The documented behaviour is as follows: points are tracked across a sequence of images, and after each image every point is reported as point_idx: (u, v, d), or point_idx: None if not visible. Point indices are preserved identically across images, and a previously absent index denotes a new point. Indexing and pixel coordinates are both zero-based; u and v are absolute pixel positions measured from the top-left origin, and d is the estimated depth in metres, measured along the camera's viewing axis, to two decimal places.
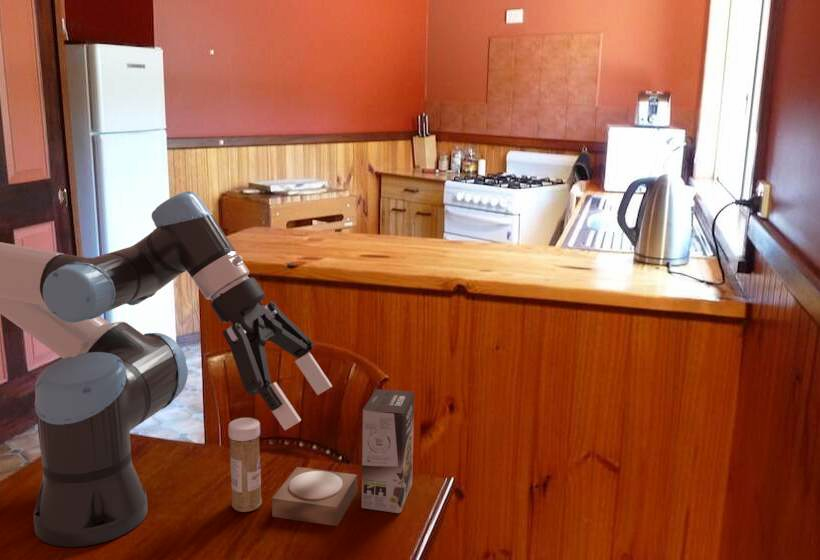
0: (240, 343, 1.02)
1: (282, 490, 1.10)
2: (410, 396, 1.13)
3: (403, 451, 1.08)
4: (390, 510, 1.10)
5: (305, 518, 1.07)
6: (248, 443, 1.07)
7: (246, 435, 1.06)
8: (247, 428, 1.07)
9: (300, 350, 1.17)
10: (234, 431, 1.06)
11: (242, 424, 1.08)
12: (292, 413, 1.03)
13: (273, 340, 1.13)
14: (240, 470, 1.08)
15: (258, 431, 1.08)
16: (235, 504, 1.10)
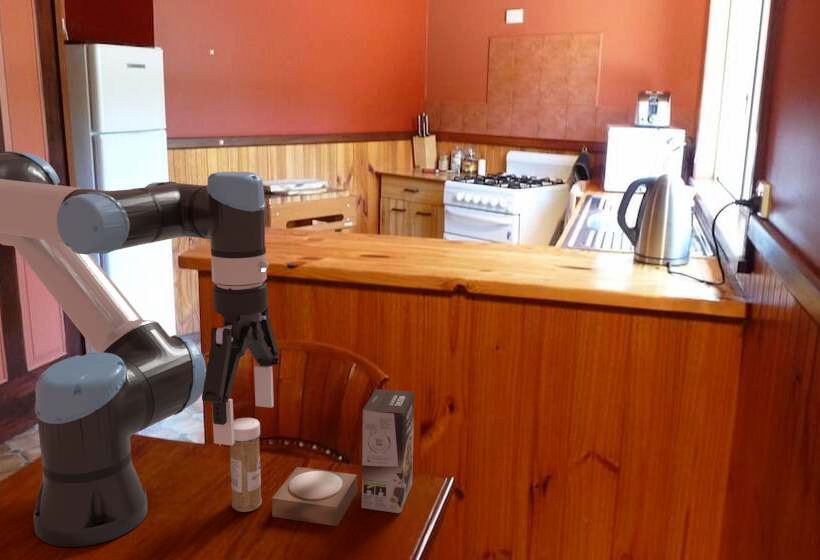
0: (222, 350, 0.98)
1: (282, 490, 1.10)
2: (410, 396, 1.13)
3: (403, 451, 1.08)
4: (390, 510, 1.10)
5: (305, 518, 1.07)
6: (248, 443, 1.07)
7: (246, 435, 1.06)
8: (247, 428, 1.07)
9: (264, 359, 1.13)
10: (234, 431, 1.06)
11: (242, 424, 1.08)
12: (230, 435, 1.01)
13: None
14: (240, 470, 1.08)
15: (258, 431, 1.08)
16: (235, 504, 1.10)
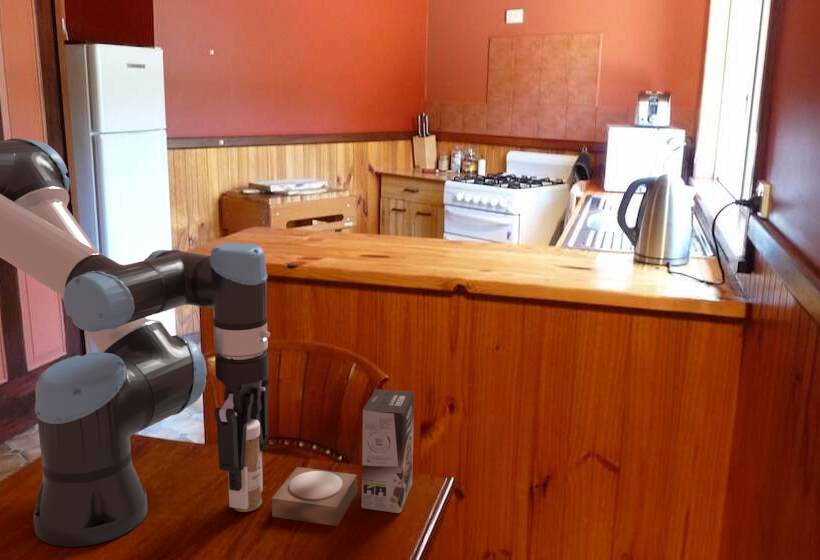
0: (228, 428, 1.02)
1: (282, 490, 1.10)
2: (410, 396, 1.13)
3: (403, 451, 1.08)
4: (390, 510, 1.10)
5: (305, 518, 1.07)
6: (248, 443, 1.07)
7: (246, 434, 1.06)
8: (247, 427, 1.07)
9: None
10: None
11: None
12: (244, 500, 1.08)
13: None
14: None
15: (258, 431, 1.08)
16: None
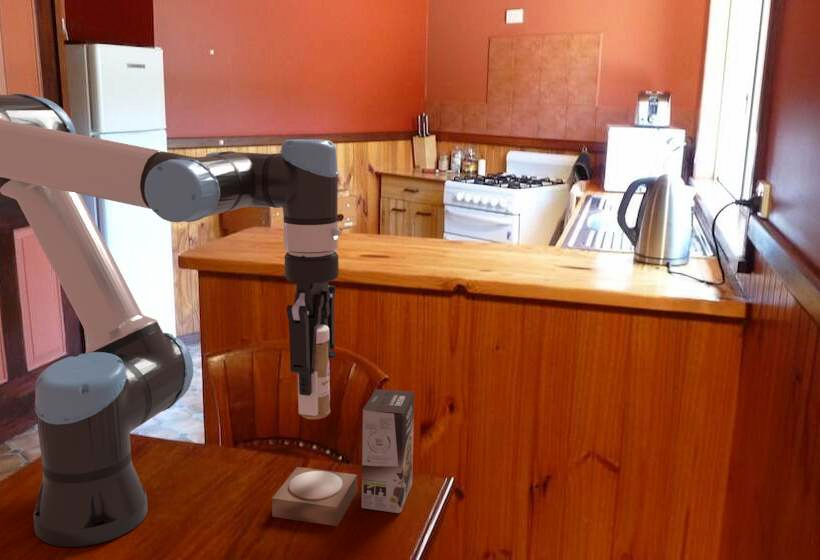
0: (301, 327, 0.99)
1: (282, 490, 1.10)
2: (410, 396, 1.13)
3: (403, 451, 1.08)
4: (390, 510, 1.10)
5: (305, 518, 1.07)
6: (319, 346, 1.04)
7: (316, 337, 1.04)
8: (317, 330, 1.04)
9: None
10: None
11: None
12: (314, 406, 1.05)
13: None
14: None
15: (328, 335, 1.05)
16: None
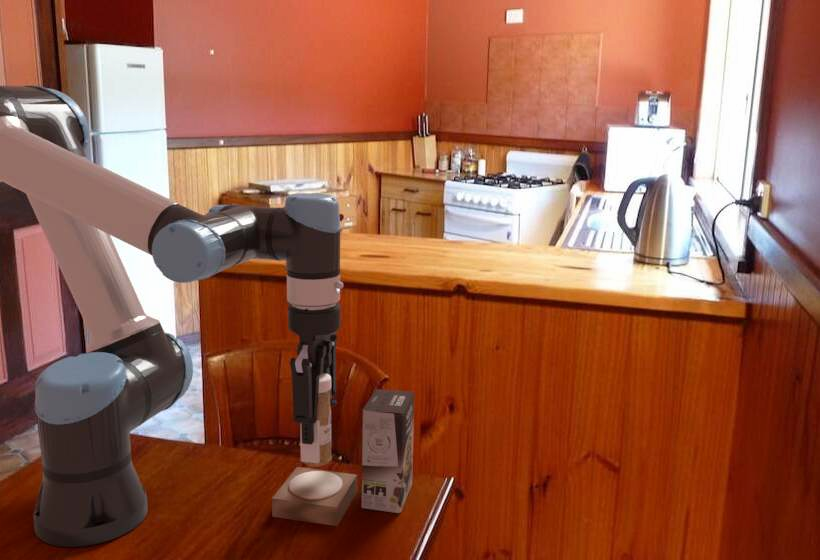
0: (304, 379, 1.01)
1: (282, 490, 1.10)
2: (410, 396, 1.13)
3: (403, 451, 1.08)
4: (390, 510, 1.10)
5: (305, 518, 1.07)
6: (321, 396, 1.06)
7: (319, 387, 1.06)
8: (319, 380, 1.06)
9: None
10: None
11: None
12: (316, 454, 1.07)
13: (313, 369, 1.09)
14: None
15: (330, 384, 1.07)
16: None
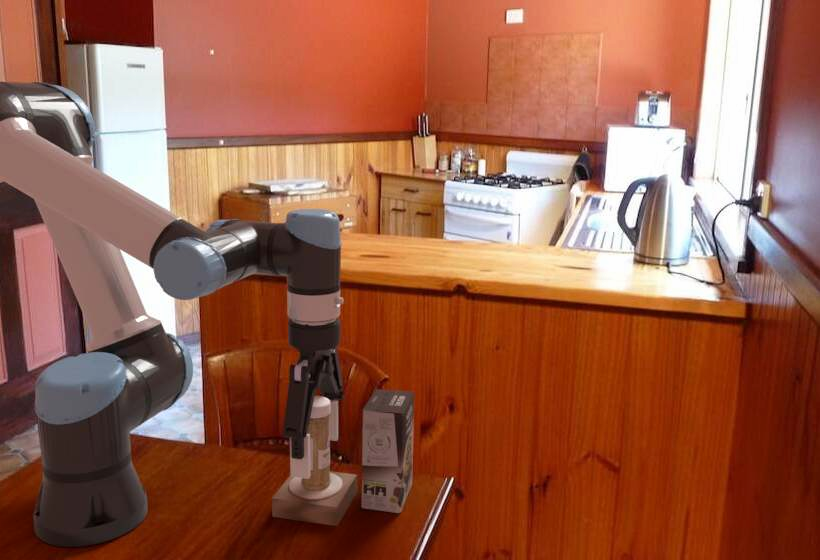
0: (301, 387, 1.00)
1: (282, 490, 1.10)
2: (410, 396, 1.13)
3: (403, 451, 1.08)
4: (390, 510, 1.10)
5: (305, 518, 1.07)
6: (320, 420, 1.07)
7: (318, 412, 1.06)
8: (319, 405, 1.07)
9: (330, 394, 1.15)
10: None
11: (314, 402, 1.08)
12: (306, 469, 1.03)
13: None
14: (312, 448, 1.08)
15: (329, 409, 1.08)
16: (305, 482, 1.09)
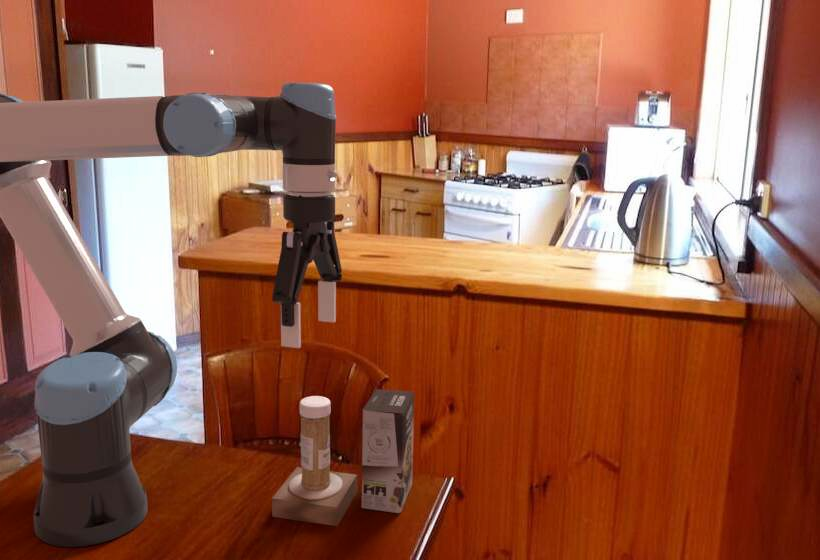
0: (292, 253, 1.01)
1: (282, 490, 1.10)
2: (410, 396, 1.13)
3: (403, 451, 1.08)
4: (390, 510, 1.10)
5: (305, 518, 1.07)
6: (320, 420, 1.07)
7: (318, 412, 1.06)
8: (319, 405, 1.07)
9: (328, 275, 1.17)
10: (306, 409, 1.06)
11: (314, 402, 1.08)
12: (297, 338, 1.04)
13: (313, 255, 1.12)
14: (312, 448, 1.08)
15: (329, 409, 1.08)
16: (305, 482, 1.09)
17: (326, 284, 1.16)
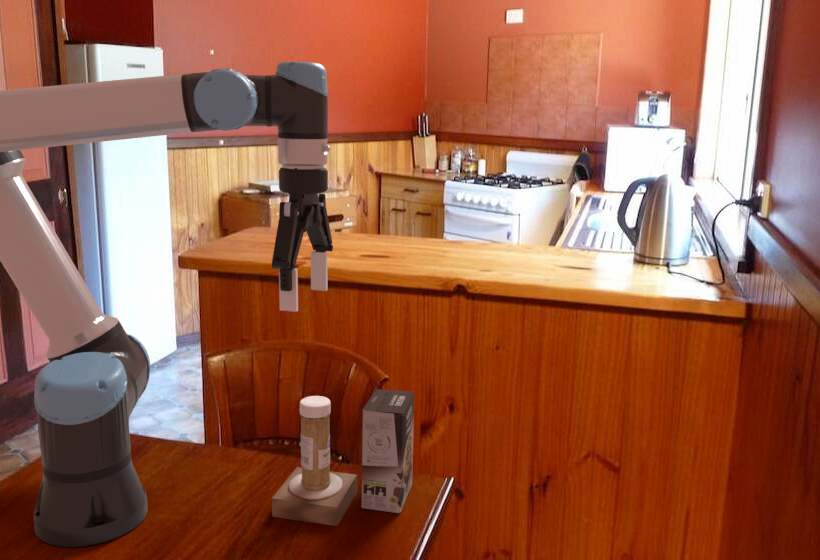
0: (290, 221, 1.08)
1: (282, 490, 1.10)
2: (410, 396, 1.13)
3: (403, 451, 1.08)
4: (390, 510, 1.10)
5: (305, 518, 1.07)
6: (320, 420, 1.07)
7: (318, 412, 1.06)
8: (319, 405, 1.07)
9: (320, 246, 1.23)
10: (306, 409, 1.06)
11: (314, 402, 1.08)
12: (294, 302, 1.11)
13: None
14: (312, 448, 1.08)
15: (329, 409, 1.08)
16: (305, 482, 1.09)
17: (318, 254, 1.23)
